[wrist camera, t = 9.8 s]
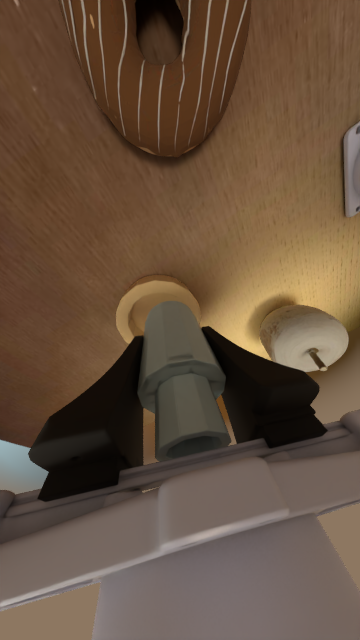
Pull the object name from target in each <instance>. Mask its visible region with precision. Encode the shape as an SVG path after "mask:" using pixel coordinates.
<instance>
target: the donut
mask: <svg viewBox="0 0 360 640" xmlns="http://www.w3.org/2000/svg"><path fill="white" fill-rule="evenodd" d="M175 1H176V3H177V5H178V7H179V9H180V11H181V14H182V16H183V20H184V27H183V32H182V37H181V40H182V43H183V45H182V51H181V53H180V55H179V56H178V57H177V58H176V59H175V60H174V61H173V62H172V63H171V64H167V65H153V64H150V63H149V62H147V61H146V59H145V58H144V56H143V55H142V53H141V51H140V48H139V45H138V41H137V37H136V29H137V26H136V10H135V2H136V0H59V4H60V8H61V12H62V16H63V19H64V22H65V26H66V29H67V32H68V36H69V39H70V42H71V46H72V49H73V52H74V55H75V57H76V59H77V61H78V63H79V65H80V67H81V69H82V72H83V74H84V76H85V78H86V80H87V82H88V84H89V87H90V89H91V91H92V94H93V96H94V98H95V100H96V102H97V104H98V106H99V107H100V108H101V109H102V110H103V112H104V113H105V114H106V115H107V116H108V117H109V119H110V120H111V121H112V123H113V124H114V125H115V127H116V128H117V129H118V131H119V132H120V134H121V135H122V136H123V137H124V138H125V139H126V140H127V141H129V142H130V143H131V144H133V145H134V146H137V147H139V148H141V149H143V150H144V151H146V152H149V153H151V154H154V155H159V156H164V157H165V156H174V157H176V158H177V157H178V156H180V155H181V154H183V153H185V152H187V151H189V150H191V149H193V148H194V147H195V146H197V145H198V144H200V143H202V142H203V141H204V140H205V138H206V137H207V136H208V134H209V133H210V132H211V130H212V129H213V127H214V126H215V125H216V124H217V123H218V122H219V121H220V120H221V118H222V116H223V114H224V112H225V110H226V107H227V105H228V102H229V99H230V97H231V94H232V92H233V89H234V86H235V83H236V79H237V76H238V73H239V69H240V65H241V62H242V58H243V54H244V50H245V45H246V40H247V36H248V29H249V21H250V13H251V0H175Z"/></svg>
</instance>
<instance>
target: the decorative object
mask: <svg viewBox="0 0 360 640" xmlns="http://www.w3.org/2000/svg"><path fill="white" fill-rule="evenodd" d="M259 336H260V340H261V343H262V344H263V346H264V348H265V349H266V351H267V353H268V354H269V356H270V358H271V359H272V361H273V362H276V363H279V364H282V365H285V366H288V367H292V368H295V369H299V370H302V371H304V372H308V371H315V370H319V369H320V370H321V371H325V370H327V366H329V365H330V364H332V363H334V362H335V361H336V360H337V359H339V358H340V357H341V356H342V355H343V353H344V352H345V350H346V348H347V346H348V334H347V331H346V329H345V327H344V326H343V325H342V324H341V323H340V321H339V320H337V319H336V318H335V317H333V316H331V315H329V314H328V313H326V312H324V311H322V310H320V309H317V308H314V307H310V306H304V305H288V306H283V307H280V308H278V309H276V310H274V311H272V312H271V313H269V314H268V315H267V316H266V317H265V319H264V320H263V322H262V324H261V327H260V332H259Z"/></svg>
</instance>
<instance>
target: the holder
mask: <svg viewBox="0 0 360 640" xmlns="http://www.w3.org/2000/svg"><path fill="white" fill-rule="evenodd" d="M165 301H178V302H181V303H183V304H185V305H187V306H188V307H189V308H190V309H191V311H192V313H193V314H194V316H195V317H196V319H197V321H198V323H199V325H200V321H201V313H200V308H199V304H198V302H197V300H196V299H195V297H194V296H193V294H192V293H191V292H190V290H189V289H188V288H187V286H186V285H185V284H183V283H182V282H181V281H179V280H177V279H175V278H173V277H170V276H166V275H150V276H146V277H144V278H141V279H139V280H137V281H136V282H135V283H133V284H132V285H131V286H130V287H129V288H128V289H127V290H126V291H125V293H124V295H123V297H122V299H121V301H120V303H119V306H118V308H117V310H116V323H117V329H118V330H119V332H120V334H121V335H122V337H123V339H124V340H125V341H126V342H127V343H128V344H130V343H131V341H132V340H133V338H134V337H135V336H140V335H143V338H144V329H145V322H146V319H147V316H148V314H149V312H150V311H151V309H152V308H153V307H155V306H156V305H158V304H159V303H162V302H165Z"/></svg>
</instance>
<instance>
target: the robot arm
mask: <svg viewBox="0 0 360 640" xmlns="http://www.w3.org/2000/svg"><path fill="white" fill-rule="evenodd" d="M356 130H357V131H356ZM343 144H344V179H345V215H346V217H352V216H354V215H355V214H357V213H358V212H360V121H359V122H358V123H356V124H355V125H354V126H353V127H352V128H350V129H349V130H348V131H347V132H346V134H345V136H344V140H343ZM202 331H203V333H204V335H205V337H206V339H207V341H208V343H209V345H210V347H211V349H212V350H213V352H214V354H215V356H216V358H217V360H218V362H219V364H220V366H221V368H222V370H223V372H224V374H225V376H226V381H225V387H224V391H223V393H222V394H221V395H222V398H223V401H224V404H225V407H226V410H227V413H228V416H229V419H230V422H231V426H232V429H233V432H234V436H235V439H236V442H237V444H235V445H230V446H226V447H222V448H217V449H213V450H209V451H204V452H200V453H195V454H191V455H187V456H182V457H178V458H174V459H169V460H165V461H160V462H156V463H152V464H148V465H143V407H142V405H141V402H140V399H139V396H138V393H137V391H138V382H139V373H140V364H141V356H142V347H143V335H140V336H135V337H134V338H133V340H132V341H131V343H130V344H129V346H128V347H127V348H126V350H125V351H124V352H123V354H122V355H121V356H120V358H119V359H118V360H117V361H116V362H115V364H114V365H113V366H112V367H111V368H110V369H109V370H108V371H107V372H106V373H105V374H104V375H103V376H102V377H101V378H100V379H99V380H98V381H97V382H96V383H94V384H93V385H92V386H91V387H90V388H89V389H87V390H86V391H85V392H84V393H82V394H81V395H80V396H79V397H77V398H76V399H75V400H73V401H72V402H71V403H69V404H68V405H66V406H65V407H63V408H62V409H61V410H59V411H58V412H56V413H55V414H53V415H52V416H50V417H49V419H48V420H47V422H46V423H45V425H44V427H43V428H42V430H41V432H40V433H39V435H38V437H37V439H36V440H35V442H34V444H33V445H32V447H31V449H30V451H29V453H28V455H29V458H30V460H31V461H32V462H33V463H35V464H36V465H38V466H40V467H42V468H43V469H45V470H47V471H48V472H49V473H48V476H47V478H46V480H45V482H44V484H43V487H42V489H38V490H34V491H29V492H25V493H20V494H16V495H15V494H14V493H13V492H11V491H7V490H0V611H2V610H6V609H10V608H13V607H16V606H20V605H23V604H27V603H30V602H33V601H37V600H40V599H43V598H47V597H50V596H54V595H57V594H61V593H64V592H67V591H71V590H74V589H78V588H81V587H85V586H88V585H91V584H95V583H98V582H101V583H100V590H99V597H98V602H97V609H96V615H95V621H94V628H93V634H92V640H360V591H359V589H358V587H357V586H356V584H355V582H354V580H353V579H352V577H351V575H350V574H349V572H348V570H347V568H346V567H345V565H344V563H343V561H342V560H341V558H340V556H339V554H338V553H337V551H336V549H335V548H334V546H333V544H332V543H331V541H330V539H329V537H328V536H327V534H326V532H325V530H324V529H323V527H322V525H321V523H320V522H319V520H318V519H317V517H316V516H319V515H322V514H325V513H329V512H332V511H335V510H339V509H342V508H345V507H348V506H351V505H355V504H358V503H360V410H355V411H351V412H348V413H346V414H345V415H343V416H342V417H341V419H340V421H336V422H331V423H327V424H322V423H321V422H320V421H319V420H318V419H317V418H316V417H315V415H314V414H315V410H314V409H313V408H312V407H311V406H310V404H311V403H312V401H313V400H314V399H315V398H316V396H317V394H318V393H319V385H318V384H317V383H316V382H315V381H314V380H313V379H312V378H311V377H309V376H308V375H307V374H306V373H305V372H304V371H302V370H299V369H295V368H292V367H288V366H285V365H282V364H279V363H276V362H273V361H270V360H267V359H265V358H262V357H260V356H258V355H255V354H253V353H251V352H249V351H247V350H245V349H243V348H241V347H239V346H237V345H236V344H234V343H232V342H231V341H229V340H228V339H226V338H225V337H223V336H222V335H220V334H219V333H218V332H216V331H215V330H214V329H212V328H211V327H209V326H206V327H202ZM156 487H159V488H156ZM152 488H156V489H153V490H150V491H148V492H145V493H142V491H143V490H148V489H152Z"/></svg>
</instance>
